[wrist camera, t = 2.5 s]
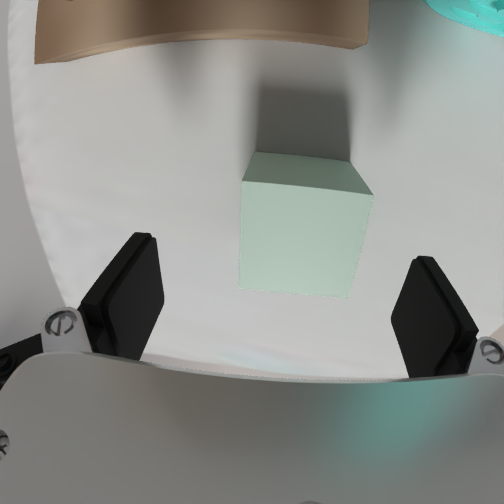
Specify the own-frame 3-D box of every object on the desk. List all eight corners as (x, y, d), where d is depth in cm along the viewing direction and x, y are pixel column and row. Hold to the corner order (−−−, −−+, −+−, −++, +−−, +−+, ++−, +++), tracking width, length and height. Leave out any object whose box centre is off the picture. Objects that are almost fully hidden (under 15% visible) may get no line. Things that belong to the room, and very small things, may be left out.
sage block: (349, 161, 15) (373, 195, 11) (335, 243, 18) (347, 298, 13) (255, 151, 15) (241, 180, 11) (250, 235, 18) (238, 288, 14)
